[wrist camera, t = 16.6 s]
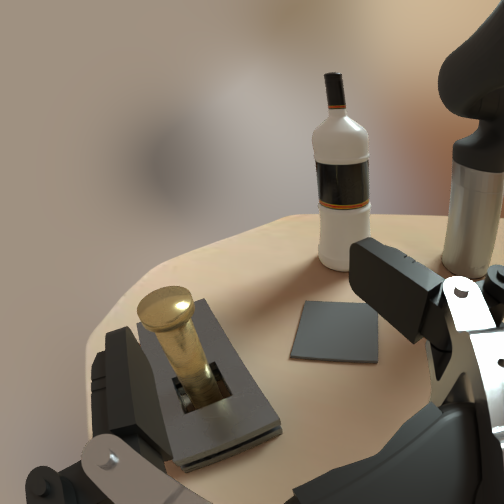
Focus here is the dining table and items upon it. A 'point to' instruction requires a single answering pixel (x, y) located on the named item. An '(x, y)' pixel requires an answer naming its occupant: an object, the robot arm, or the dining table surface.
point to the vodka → (341, 179)
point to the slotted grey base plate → (217, 414)
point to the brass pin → (180, 341)
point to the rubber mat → (337, 332)
